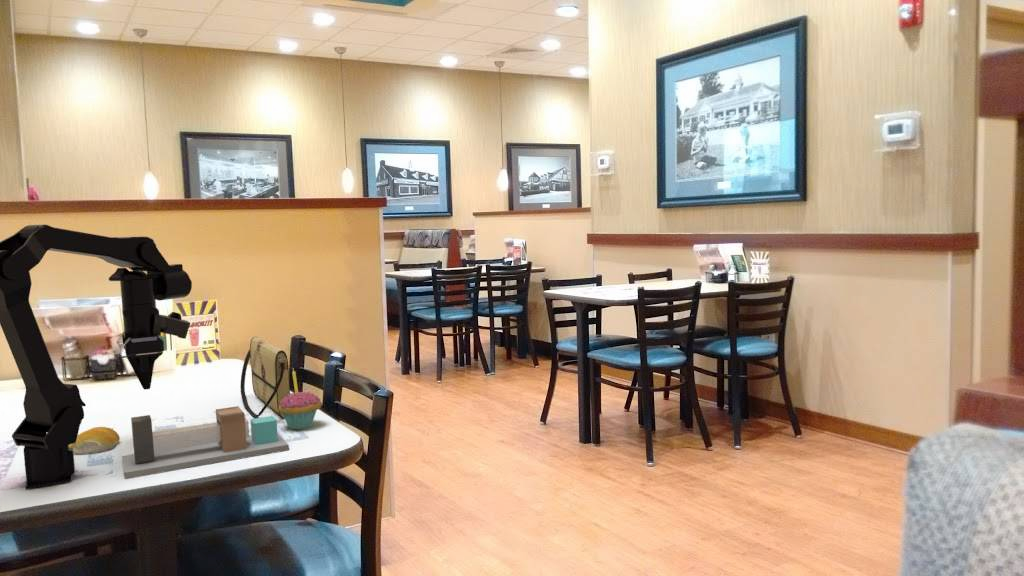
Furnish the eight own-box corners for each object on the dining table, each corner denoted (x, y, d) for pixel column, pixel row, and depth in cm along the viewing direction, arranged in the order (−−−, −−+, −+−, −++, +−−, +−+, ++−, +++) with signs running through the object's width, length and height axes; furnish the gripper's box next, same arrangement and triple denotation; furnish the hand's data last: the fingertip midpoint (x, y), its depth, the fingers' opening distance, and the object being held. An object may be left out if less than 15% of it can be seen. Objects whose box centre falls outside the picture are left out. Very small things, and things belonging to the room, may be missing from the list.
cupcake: (272, 427, 155) (268, 369, 154) (309, 418, 161) (305, 363, 160) (292, 434, 149) (289, 374, 148) (330, 425, 155) (327, 368, 154)
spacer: (254, 423, 138) (276, 420, 140) (250, 419, 142) (272, 415, 144) (255, 444, 139) (277, 441, 141) (251, 439, 142) (273, 436, 144)
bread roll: (124, 440, 150) (122, 420, 149) (110, 453, 141) (109, 432, 141) (78, 444, 148) (76, 424, 148) (62, 457, 139) (60, 436, 139)
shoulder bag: (234, 399, 182) (230, 338, 181) (263, 395, 186) (259, 335, 185) (261, 425, 157) (256, 354, 156) (294, 420, 160) (290, 350, 159)
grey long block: (135, 463, 129) (132, 422, 128) (134, 457, 133) (131, 417, 132) (250, 444, 138) (247, 405, 138) (246, 439, 142) (243, 401, 141)
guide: (124, 478, 125) (121, 434, 125) (122, 461, 135) (119, 420, 134) (288, 449, 138) (286, 410, 138) (276, 436, 148) (273, 398, 147)
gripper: (190, 303, 137) (196, 387, 138) (180, 296, 153) (185, 371, 155) (122, 309, 132) (129, 396, 133) (119, 301, 148) (125, 378, 149)
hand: (145, 384), depth 143 cm, fingers open, 9 cm apart
